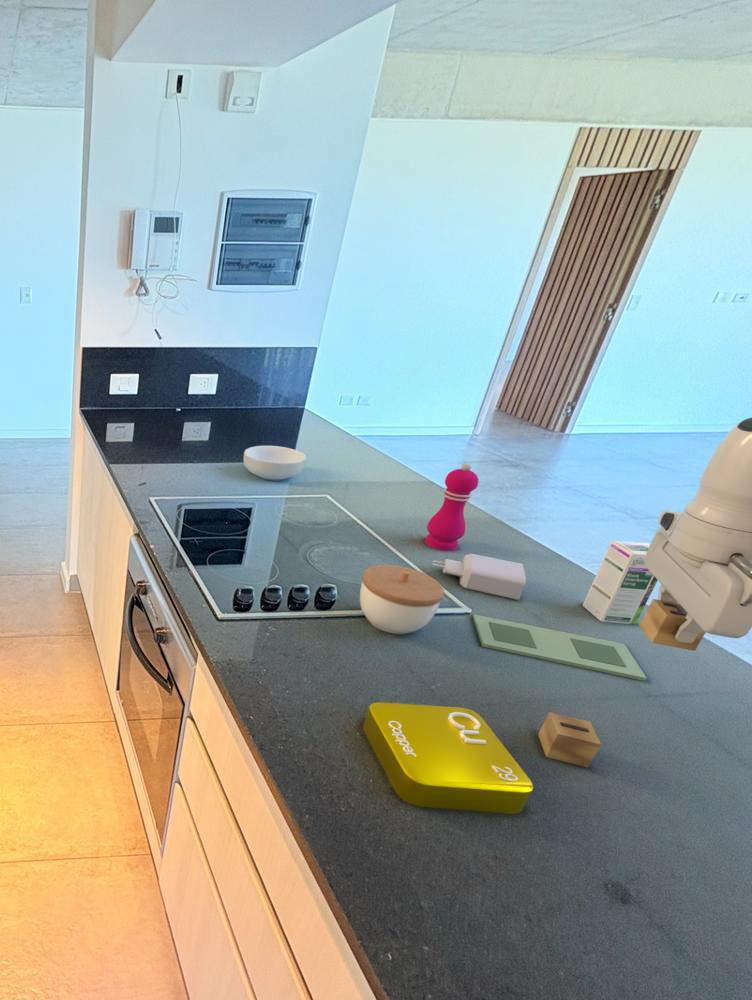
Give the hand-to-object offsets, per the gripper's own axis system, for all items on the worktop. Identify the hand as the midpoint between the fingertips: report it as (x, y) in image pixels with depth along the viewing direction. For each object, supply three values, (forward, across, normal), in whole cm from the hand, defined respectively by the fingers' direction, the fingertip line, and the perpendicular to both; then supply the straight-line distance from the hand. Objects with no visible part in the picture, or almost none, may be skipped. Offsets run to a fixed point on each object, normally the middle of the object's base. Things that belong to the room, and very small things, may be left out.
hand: (671, 627), depth 86 cm
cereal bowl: (+15, +82, +58) cm, 102 cm away
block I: (+15, -14, +11) cm, 24 cm away
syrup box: (+15, +30, -6) cm, 35 cm away
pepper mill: (+15, +51, +18) cm, 56 cm away
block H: (+2, 0, 0) cm, 2 cm away
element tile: (+15, -24, +28) cm, 40 cm away
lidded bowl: (+15, +11, +31) cm, 36 cm away
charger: (+15, +35, +15) cm, 41 cm away
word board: (+15, +14, +6) cm, 21 cm away
